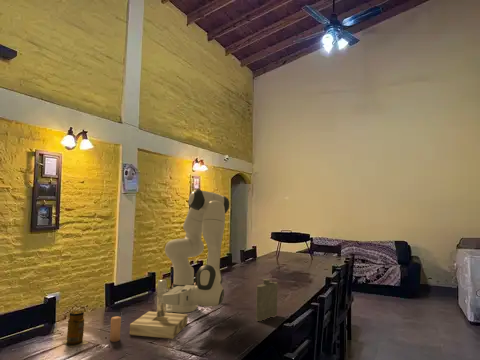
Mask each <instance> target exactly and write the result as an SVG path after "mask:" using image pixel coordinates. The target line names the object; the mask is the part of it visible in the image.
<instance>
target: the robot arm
mask: <svg viewBox="0 0 480 360" xmlns="http://www.w3.org/2000/svg"><path fill="white" fill-rule="evenodd" d="M187 202H188V203H187V204H188V206H189V210H188V212H187V215H186V217H185V219H184V222H183V225H182V227H183V228H182V229H183V230H184V232H185V236H184V238H175V239H171V240H169V241H167V242H166V243H165V247H164V254H165V256H166V257H167V258H168V259H169V260H170V261H171V264H172V267H173V283H171V288H170V289H166V293H160V292H159V293H158V292H157V294H156V296H157V297H161V298H162V303H164V304H166V313H176V314H186V313H190V312H194V311H196V309H197V308H198V307H199V306H201V307H218V306H220V305H221V304H222V303H223V300H224V297H225V290H224V288H223V286H222V284H223V275H222V272H221V268H220V267H221V254H222V253H221V250H222V244H223V243H222V242H223V236H224V231H225V225H226V214H227V212H228V211H229V209H230V200H229V198H228V197H226V196H225V195H222V194H219V193H216V192H212V191H206V190H201V189H194V190H193V191H191V192H190V194H189V197H188V201H187ZM202 237H203V239H204V241H205V244H206V247H207V261H206V263H207V264H205V265H202V266H200V267H199V269H198V270H197V271H196V273H197V285H194V282H195V279H194V277H195V269H194V267H193V266H192V265H191V264H190V262H189V258H196V257H198V256H200V255H201V254H202V253H203V252H204V250H205V245H204V242H203V240H202ZM157 297H156V298H157Z"/></svg>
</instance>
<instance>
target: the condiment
mask: <svg viewBox="0 0 480 360" xmlns="http://www.w3.org/2000/svg"><path fill="white" fill-rule="evenodd" d="M84 314H85V313H84V311H82V310H73V311H71V312H69V319H68V320H67V335H66V340H63V341H62V342H61V343H63V344H64V345H66V346H68V347H69V348H74V347H79V346H83V345H86V344H89V342H88V341H86V340H85V339H84V333H85V332H84V330H85V328H84V327H85V318H84V316H85V315H84Z"/></svg>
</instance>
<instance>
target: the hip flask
mask: <svg viewBox="0 0 480 360" xmlns="http://www.w3.org/2000/svg"><path fill="white" fill-rule="evenodd" d="M262 281H263V283H260V284H258V285H256V294H255V297H256V298H255V301H256V302H255V303H256V305H255V321H256V320H258V321H261V320H263V319H265V318H268V317H271V316H275V315H277V316H278V289H279V288H278V286H279V284H278V282H277V281H271V280H270V279H269V278H262Z"/></svg>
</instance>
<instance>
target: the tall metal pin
mask: <svg viewBox="0 0 480 360" xmlns="http://www.w3.org/2000/svg"><path fill="white" fill-rule="evenodd" d="M167 282H168V281H167V279H158V280H157V294H158V293H159V292H160V293H166V290H167V285H168V283H167ZM156 299H157V301H156V312H157V317H164V316H165V315H166V313H167V311H166V304H164V303H162V298H161V297H156Z"/></svg>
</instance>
